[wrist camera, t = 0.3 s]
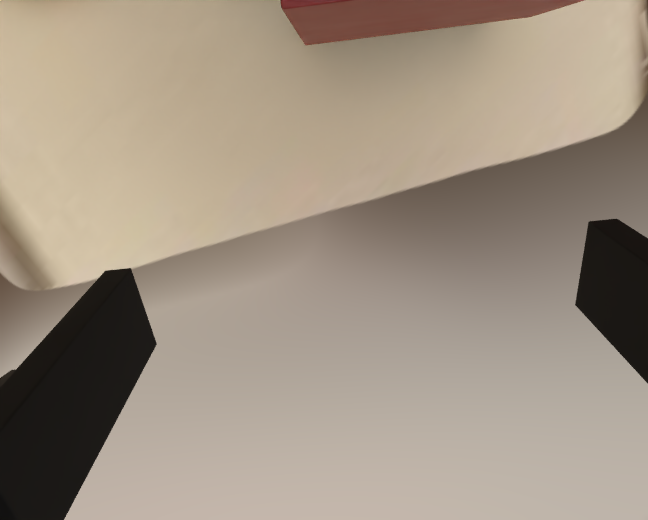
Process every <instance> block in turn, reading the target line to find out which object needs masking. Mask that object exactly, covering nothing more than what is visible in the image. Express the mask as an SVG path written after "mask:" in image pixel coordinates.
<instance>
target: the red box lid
mask: <svg viewBox="0 0 648 520" xmlns="http://www.w3.org/2000/svg"><path fill="white" fill-rule="evenodd" d="M581 1H584V0H281V7H282V10H283V11H284V13H285V14H286V16H287V17H288V19H289V20H290V22H291V24H292V25H293V27H294V28H295V30H296V31H297V33H298V35H299V36H300V38H301V39H302V41H303V42H304V44H305V45H312V44H320V43H328V42H336V41H344V40H352V39H360V38H368V37H376V36H384V35H392V34H400V33H407V32H415V31H423V30H431V29H439V28H447V27H455V26H463V25H471V24H479V23H487V22H495V21H503V20H511V19H519V18H527V17H532V16H535V15H538V14H542V13H545V12H548V11H551V10H555V9H558V8H561V7H564V6H568V5H571V4H574V3H577V2H581Z"/></svg>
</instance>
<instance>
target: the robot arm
mask: <svg viewBox="0 0 648 520" xmlns="http://www.w3.org/2000/svg"><path fill="white" fill-rule="evenodd" d="M575 305H576V306H577V307H578V308H579V309H580V310H581V311H582V313H584V315H585V316H586V317H587V318H588V319H589V320H590V321H591V322H592V324H593V325H594V326H595V327H596V328H597V329H598V330H599V331H600V332H601V333H602V334H603V335H604V337H605V338H606V339H607V340H608V341H609V342H610V343H611V344H612V345H613V346H614V347H615V348H616V350H617V351H618V352H619V353H620V354H621V355H622V356H623V357H624V358H625V359H626V360H627V361H628V362H629V364H630V365H631V366H632V367H633V368H634V369H635V370H636V371H637V372H638V373H639V374H640V376H641V377H642V378H643V379H644V380H645V381H646V382H647V383H648V238H646V237H645V236H643V235H642V234H640V233H638V232H637V231H635V230H634V229H632V228H631V227H629V226H627V225H626V224H624V223H623V222H621V221H620V220H618V219H609V220H600V221H590V222H589V223H588V229H587V236H586V242H585V249H584V254H583V261H582V267H581V273H580V279H579V286H578V292H577V298H576V304H575ZM155 346H156V341H155V338H154V335H153V332H152V329H151V326H150V323H149V320H148V317H147V314H146V312H145V308H144V306H143V303H142V300H141V297H140V294H139V291H138V288H137V285H136V282H135V279H134V276H133V273H132V270H131V268H128V269H119V270H109V271H105V272H104V273H103V274H102V275H101V276H100V277H99V278H98V280H97V281H96V282H95V283H94V284H93V285H92V286H91V287H90V288H89V290H88V291H87V292H86V293H85V294H84V295H83V296H82V297H81V299H80V300H79V301H78V302H77V303H76V304H75V305H74V306H73V307H72V308H71V309H70V311H69V312H68V313H67V314H66V315H65V316H64V317H63V318H62V320H61V321H60V322H59V323H58V324H57V325H56V326H55V327H54V328H53V330H52V331H51V332H50V333H49V334H48V335H47V336H46V337H45V338H44V340H43V341H42V342H41V343H40V344H39V345H38V346H37V347H36V348H35V349H34V351H33V352H32V353H31V354H30V355H29V356H28V357H27V358H26V359H25V361H24V362H23V363H22V364H21V365H20V366H19V367H18V368H17V369H16V370H11V371H10V372H8V373H7V374H5V375H4V376H3V377H1V378H0V520H64V518H65V517H66V514H67V513H68V511H69V509H70V507H71V505H72V503H73V502H74V499H75V498H76V496H77V494H78V492H79V490H80V488H81V486H82V484H83V482H84V481H85V479H86V477H87V475H88V473H89V471H90V469H91V467H92V466H93V464H94V462H95V460H96V458H97V456H98V454H99V452H100V450H101V449H102V447H103V445H104V443H105V441H106V439H107V437H108V435H109V433H110V431H111V429H112V428H113V426H114V424H115V422H116V420H117V418H118V416H119V414H120V413H121V410H122V409H123V407H124V405H125V403H126V401H127V399H128V397H129V395H130V394H131V392H132V390H133V388H134V386H135V384H136V382H137V380H138V378H139V377H140V374H141V373H142V371H143V369H144V367H145V365H146V363H147V361H148V360H149V358H150V356H151V354H152V352H153V350H154V348H155Z"/></svg>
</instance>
